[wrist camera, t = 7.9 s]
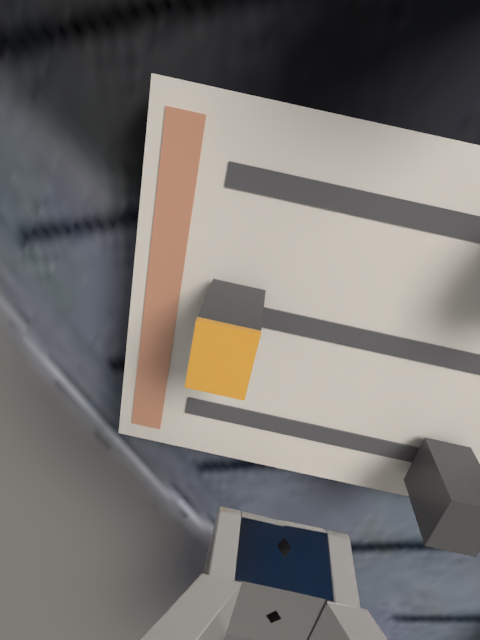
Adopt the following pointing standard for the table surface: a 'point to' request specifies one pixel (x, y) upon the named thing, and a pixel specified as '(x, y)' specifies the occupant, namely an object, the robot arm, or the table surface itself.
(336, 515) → the table surface
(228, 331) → the block
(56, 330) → the table surface
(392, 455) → the white slider switch panel
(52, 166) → the table surface
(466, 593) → the table surface
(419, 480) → the block
